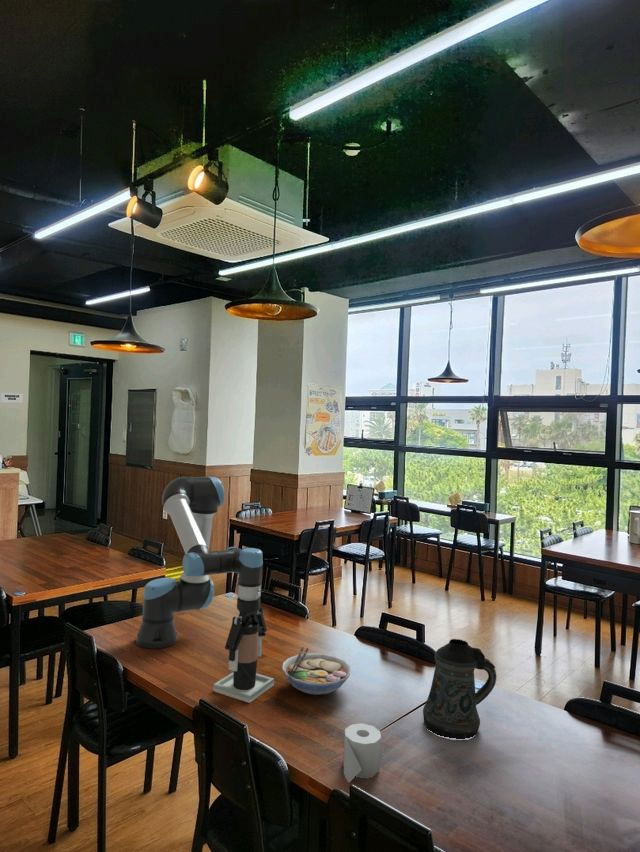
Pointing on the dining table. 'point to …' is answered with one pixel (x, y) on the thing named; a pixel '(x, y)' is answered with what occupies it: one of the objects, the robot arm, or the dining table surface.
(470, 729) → the beer stein
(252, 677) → the travel mug
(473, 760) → the dining table surface
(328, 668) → the ramen bowl
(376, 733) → the toilet tissue
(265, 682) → the square plate
